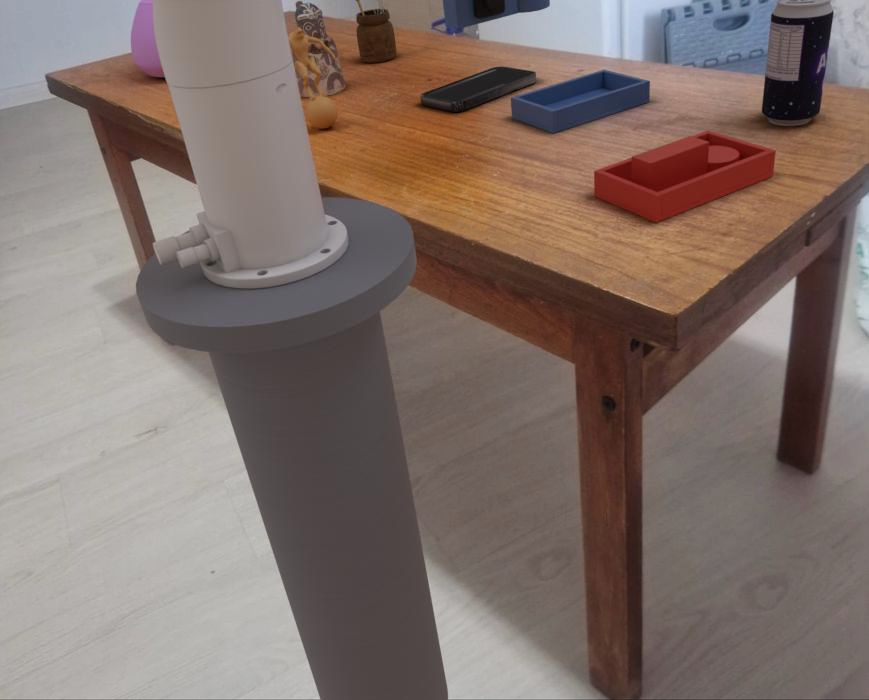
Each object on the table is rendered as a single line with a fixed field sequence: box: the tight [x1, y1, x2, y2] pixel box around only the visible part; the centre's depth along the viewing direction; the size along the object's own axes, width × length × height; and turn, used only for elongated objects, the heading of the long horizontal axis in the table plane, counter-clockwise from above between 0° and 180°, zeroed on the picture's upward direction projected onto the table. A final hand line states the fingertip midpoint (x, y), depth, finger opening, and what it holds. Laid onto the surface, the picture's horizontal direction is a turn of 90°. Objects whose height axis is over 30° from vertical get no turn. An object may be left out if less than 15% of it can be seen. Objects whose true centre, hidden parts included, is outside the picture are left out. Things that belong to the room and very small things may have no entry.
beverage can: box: [761, 0, 835, 127], centre depth 84 cm, size 6×6×12 cm
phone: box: [419, 65, 537, 113], centre depth 108 cm, size 8×1×15 cm
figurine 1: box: [291, 0, 346, 98], centre depth 116 cm, size 7×7×12 cm
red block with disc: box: [631, 135, 740, 192], centre depth 75 cm, size 11×4×4 cm, turn 120°
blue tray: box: [510, 69, 651, 134], centre depth 97 cm, size 14×8×2 cm, turn 120°
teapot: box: [130, 0, 165, 78], centre depth 138 cm, size 22×22×14 cm
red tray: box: [593, 130, 777, 223], centre depth 75 cm, size 14×8×2 cm, turn 120°
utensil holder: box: [355, 0, 397, 64], centre depth 128 cm, size 6×6×12 cm
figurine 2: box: [288, 27, 339, 130], centre depth 101 cm, size 8×6×12 cm
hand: (481, 12), depth 80 cm, fingers closed on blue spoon, 2 cm apart
